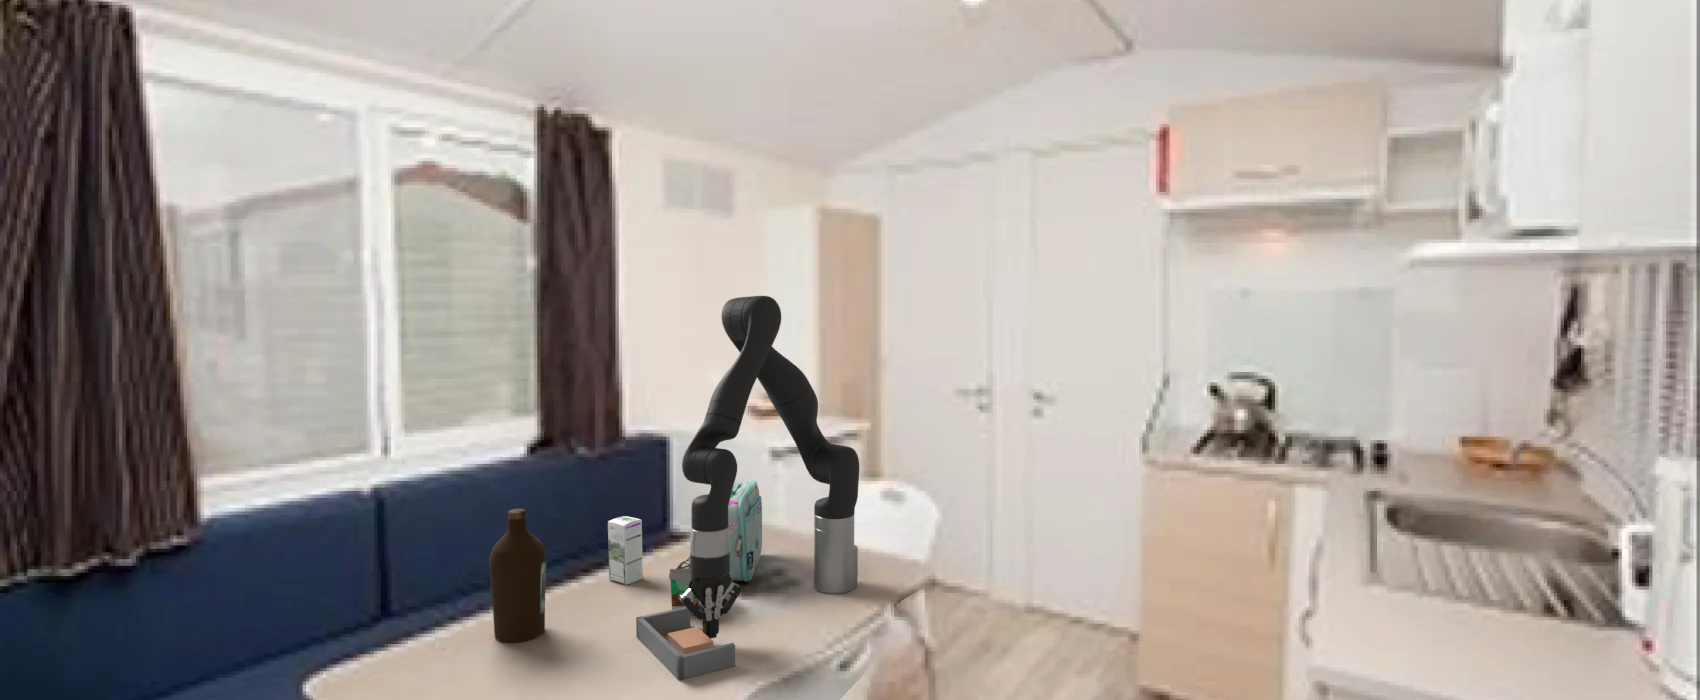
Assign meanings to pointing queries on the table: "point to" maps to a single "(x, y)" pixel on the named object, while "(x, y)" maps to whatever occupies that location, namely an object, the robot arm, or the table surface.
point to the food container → (681, 584)
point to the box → (669, 656)
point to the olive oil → (518, 582)
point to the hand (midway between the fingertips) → (710, 636)
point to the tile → (689, 640)
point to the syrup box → (625, 550)
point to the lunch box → (744, 530)
